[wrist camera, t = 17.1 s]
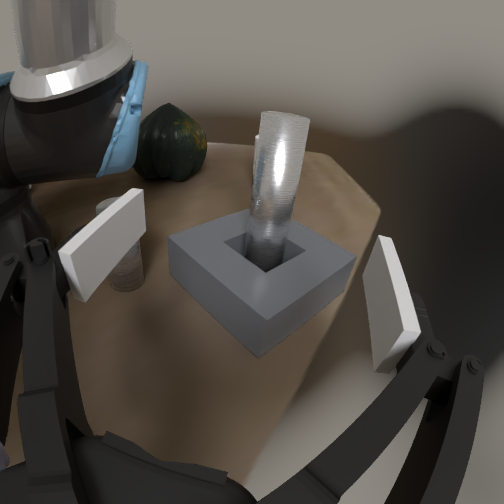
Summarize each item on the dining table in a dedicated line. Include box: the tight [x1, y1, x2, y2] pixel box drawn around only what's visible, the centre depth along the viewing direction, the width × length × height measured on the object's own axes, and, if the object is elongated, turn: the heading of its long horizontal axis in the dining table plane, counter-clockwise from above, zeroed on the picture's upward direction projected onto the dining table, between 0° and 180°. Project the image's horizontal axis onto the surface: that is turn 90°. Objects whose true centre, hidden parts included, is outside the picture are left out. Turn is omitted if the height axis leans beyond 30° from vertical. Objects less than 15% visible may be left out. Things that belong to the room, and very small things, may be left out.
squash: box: [133, 103, 207, 181], centre depth 53 cm, size 14×15×15 cm
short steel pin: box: [96, 197, 144, 292], centre depth 28 cm, size 4×4×9 cm
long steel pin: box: [244, 111, 310, 273], centre depth 28 cm, size 4×4×18 cm
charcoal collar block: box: [168, 208, 357, 358], centre depth 31 cm, size 14×14×5 cm
